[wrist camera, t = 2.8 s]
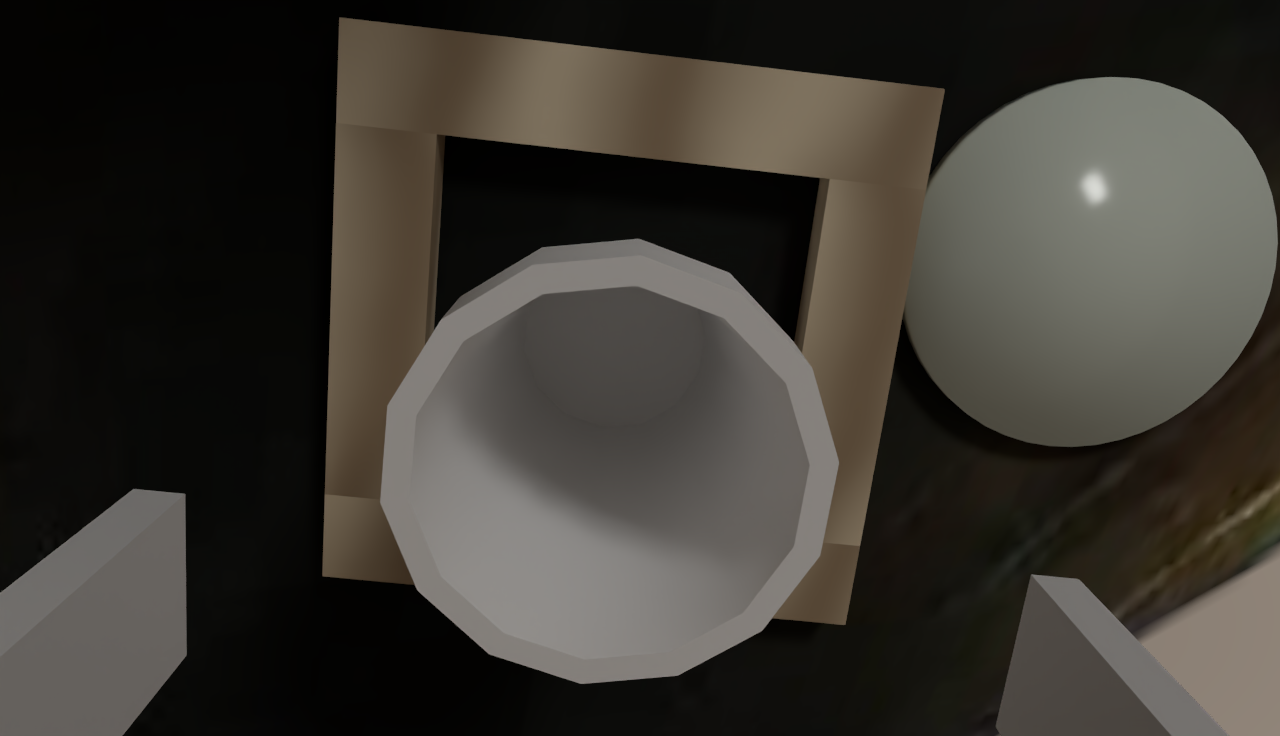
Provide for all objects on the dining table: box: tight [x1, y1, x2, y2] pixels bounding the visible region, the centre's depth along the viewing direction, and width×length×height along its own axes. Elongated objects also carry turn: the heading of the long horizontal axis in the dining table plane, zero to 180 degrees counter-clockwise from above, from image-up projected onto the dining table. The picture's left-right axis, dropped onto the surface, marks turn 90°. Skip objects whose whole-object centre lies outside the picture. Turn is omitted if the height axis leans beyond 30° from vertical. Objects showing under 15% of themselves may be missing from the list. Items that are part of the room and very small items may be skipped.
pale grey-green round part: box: [902, 77, 1278, 447], centre depth 32 cm, size 12×12×1 cm
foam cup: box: [380, 239, 839, 684], centre depth 26 cm, size 10×9×13 cm
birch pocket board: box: [322, 17, 945, 625], centre depth 32 cm, size 18×18×2 cm
